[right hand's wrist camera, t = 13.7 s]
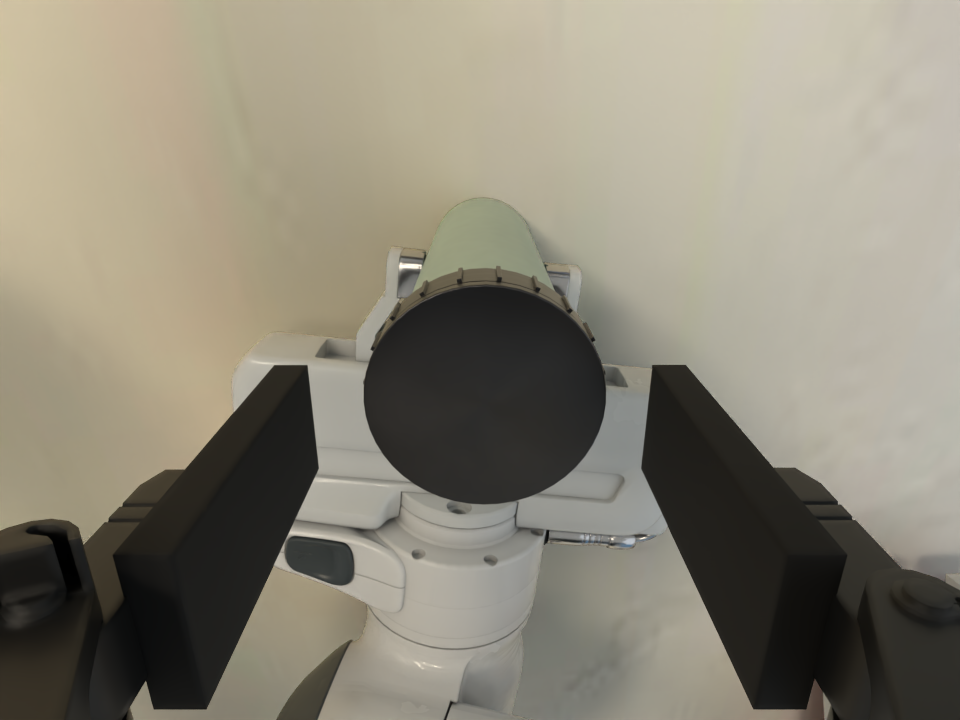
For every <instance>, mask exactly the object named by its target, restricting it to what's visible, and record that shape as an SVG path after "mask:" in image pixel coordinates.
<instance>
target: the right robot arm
mask: <svg viewBox="0 0 960 720" xmlns="http://www.w3.org/2000/svg"><path fill="white" fill-rule="evenodd" d="M318 470H319V464H318V455H317V446H316V437H315V428H314V419H313V410H312V401H311V392H310V383H309V374H308V365H274V366H273V367H272V368H271V370H270V371H269V372H268V373H267V374H266V375H265V377H264V378H263V379H262V380H261V381H260V382H259V384H258V385H257V386H256V387H255V388H254V389H253V391H252V392H251V393H250V394H249V395H248V397H247V398H246V399H245V400H244V401H243V402H242V404H241V405H240V406H239V407H238V408H237V409H236V411H235V412H234V413H233V414H232V415H231V416H230V418H229V419H228V420H227V421H226V422H225V423H224V425H223V426H222V427H221V428H220V429H219V430H218V432H217V433H216V434H215V435H214V436H213V438H212V439H211V440H210V441H209V442H208V443H207V445H206V446H205V447H204V448H203V449H202V450H201V452H200V453H199V454H198V455H197V456H196V457H195V459H194V460H193V461H192V462H191V463H190V464H189V466H188V467H187V468H186V469H185V470H164V471H163V472H161V473H159V474H158V475H156V476H155V477H153V478H151V479H150V480H148V481H146V482H145V483H143V484H141V485H140V486H139V487H138V488H137V489H136V490H135V491H134V492H133V493H132V494H131V495H130V496H129V497H128V498H127V500H126V501H125V502H124V503H123V507H119V508H118V509H117V510H116V511H115V512H114V513H113V514H112V515H111V517H110V518H109V521H108V522H105V523H104V524H103V525H102V526H101V527H100V528H99V529H98V530H97V531H96V532H95V533H94V535H93V536H92V537H91V538H90V539H89V540H88V541H87V542H86V543H85V544H84V545H83V542H82V539H81V535H80V532H79V528H78V527H77V526H75V525H74V524H72V523H71V522H69V521H64V520H56V519H47V520H38V521H30V522H26V523H23V524H19V525H16V526H12V527H9V528H6V529H4V530H1V531H0V720H133V716H132V713H131V709H130V706H131V704H132V702H133V701H134V699H135V697H136V696H137V694H138V692H139V691H140V689H141V687H142V686H143V684H144V682H145V681H146V682H147V686H148V690H149V693H150V697H151V701H152V704H153V708H154V709H207V707H208V705H209V703H210V701H211V698H212V696H213V694H214V692H215V690H216V688H217V686H218V683H219V681H220V679H221V677H222V675H223V673H224V671H225V669H226V666H227V664H228V662H229V660H230V658H231V656H232V654H233V651H234V649H235V647H236V645H237V643H238V641H239V639H240V636H241V634H242V632H243V630H244V628H245V626H246V624H247V621H248V619H249V617H250V615H251V613H252V611H253V609H254V606H255V604H256V602H257V600H258V598H259V596H260V594H261V592H262V589H263V587H264V585H265V583H266V581H267V579H268V577H269V574H270V572H271V570H272V568H273V566H274V564H275V562H276V559H277V557H278V555H279V553H280V551H281V549H282V547H283V544H284V542H285V540H286V538H287V536H288V534H289V532H290V529H291V527H292V525H293V523H294V521H295V519H296V517H297V515H298V512H299V510H300V508H301V506H302V504H303V502H304V500H305V497H306V495H307V493H308V491H309V489H310V487H311V485H312V482H313V480H314V478H315V476H316V474H317V472H318ZM641 470H642V472H643V474H644V476H645V478H646V480H647V482H648V485H649V487H650V489H651V491H652V493H653V495H654V497H655V500H656V502H657V504H658V506H659V508H660V510H661V512H662V515H663V517H664V519H665V521H666V523H667V525H668V527H669V529H670V532H671V534H672V536H673V538H674V540H675V542H676V544H677V547H678V549H679V551H680V553H681V555H682V557H683V559H684V562H685V564H686V566H687V568H688V570H689V572H690V574H691V577H692V579H693V581H694V583H695V585H696V587H697V589H698V592H699V594H700V596H701V598H702V600H703V602H704V604H705V606H706V609H707V611H708V613H709V615H710V617H711V619H712V621H713V624H714V626H715V628H716V630H717V632H718V634H719V636H720V639H721V641H722V643H723V645H724V647H725V649H726V651H727V654H728V656H729V658H730V660H731V662H732V664H733V666H734V669H735V671H736V673H737V675H738V677H739V679H740V681H741V683H742V686H743V688H744V690H745V692H746V694H747V696H748V698H749V701H750V703H751V705H752V707H753V709H806V708H807V704H808V701H809V697H810V693H811V690H812V686H813V682H814V678H815V679H816V681H817V683H818V684H819V686H820V688H821V689H822V691H823V693H824V694H825V696H826V698H827V699H828V701H829V703H830V704H831V706H830V709H829V713H828V716H827V720H960V590H959V589H957V588H955V587H953V586H951V585H949V584H947V583H945V582H943V581H941V580H939V579H937V578H935V577H932V576H929V575H926V574H923V573H919V572H916V571H912V570H905V569H901V568H900V567H899V565H898V564H897V563H896V562H895V561H894V560H893V559H892V558H891V557H890V556H889V555H888V554H887V553H886V552H885V551H884V550H883V549H882V548H881V546H880V545H879V544H878V543H877V542H876V541H875V540H874V539H873V538H872V537H871V536H870V535H869V534H868V533H867V532H866V531H865V530H864V529H863V527H862V526H861V525H860V524H859V523H858V522H857V521H856V520H852V516H851V515H850V514H849V513H848V512H847V511H846V510H845V509H844V507H843V506H842V505H838V501H837V500H836V499H835V498H834V497H833V496H832V495H831V494H830V493H829V492H828V491H827V490H826V488H825V487H824V486H823V485H822V484H821V483H819V482H818V481H816V480H814V479H813V478H811V477H809V476H808V475H806V474H804V473H803V472H801V471H799V470H798V469H796V468H773V467H772V466H771V464H770V463H769V462H768V461H767V460H766V459H765V457H764V456H763V455H762V454H761V453H760V452H759V450H758V449H757V448H756V447H755V446H754V445H753V443H752V442H751V441H750V440H749V439H748V438H747V436H746V435H745V434H744V433H743V432H742V430H741V429H740V428H739V427H738V426H737V425H736V423H735V422H734V421H733V420H732V419H731V418H730V416H729V415H728V414H727V413H726V412H725V411H724V409H723V408H722V407H721V406H720V405H719V404H718V402H717V401H716V400H715V399H714V398H713V397H712V395H711V394H710V393H709V392H708V391H707V389H706V388H705V387H704V386H703V385H702V384H701V382H700V381H699V380H698V379H697V378H696V377H695V375H694V374H693V373H692V372H691V371H690V370H689V368H688V367H687V366H686V365H652V374H651V383H650V392H649V401H648V410H647V419H646V428H645V437H644V446H643V455H642V464H641Z"/></svg>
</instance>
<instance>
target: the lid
mask: <svg viewBox="0 0 960 720" xmlns="http://www.w3.org/2000/svg"><path fill="white" fill-rule="evenodd" d="M594 341H595V339H594V337H593V335H592V333H591V331H590V329H589V327H588V325H587V323H584V324H583V323H582V321H581V320H580V318H579V316H578V315H577V313H576V312H575V311H574V310H573V308H572V307H571V305H570V303H569V301H568V299H567V297H566V296H565V295H563V296H562V297H561V296H560V295H559V294H558V293H557V292H555V291H554V290H552V289H551V288H549V287H548V286H546V285H545V284H543V283H541V282H539V281H538V279H537V277H536V276H534V275H533V276H532V278H531V277H529V276H526V275H523V274H520V273H517V272H513V271H508V270H503V269H501V266H496V269H493V268H477V269H467V270H463V268H458V271H456V272H453V273H450V274H447V275H444V276H441V277H438V278H436V279H434V280H432V281H430V282H428V281H427V280H426V281H424V282H423V284H422V287H420V288H419V289H417V290H416V291H414V292H413V293H412V294H411V295H410V296H408V297H407V298H406V299H405V300H404V301H403V302H402V303H401V304H400V303H399V302H398V303H397V304H396V305H395V307H394V309H393V312H392V314H391V316H390V318H389V320H388V322H387V323H386V325H385V327H384V329H383V332H380V331H379V332H378V334H377V336H376V338H375V340H374V342H373V344H372V347H371V349H370V350H372V351H373V353H372V355H371V357H370V360H369V364H368V367H367V370H366V374H365V378H364V380H363V385H364V408H365V415H366V419H367V422H368V426H369V429H370V431H371V434H372V436H373V438H374V440H375V442H376V444H377V446H378V447H379V449H380V451H381V452H382V454H383V455H384V456H385V458H386V459H387V460H388V461H389V463H390V464H391V465H392V466H393V467H394V468H395V469H396V470H397V471H398V472H399V473H400V474H401V475H402V476H404V477H405V478H406V479H408V480H409V481H411V482H412V483H413V484H415V485H417V486H418V487H420V488H422V489H424V490H425V491H427V492H430V493H432V494H434V495H437V496H439V497H442V498H445V499H449V500H452V501H456V502H462V503H468V504H482V505H487V504H501V503H507V502H513V501H517V500H521V499H524V498H528V497H530V496H533V495H535V494H538V493H540V492H542V491H544V490H546V489H548V488H549V487H551V486H553V485H555V484H556V483H557V482H559V481H560V480H562V479H563V478H564V477H566V476H567V475H568V474H569V473H570V472H571V471H572V470H573V469H575V468H576V467H577V465H578V464H579V463H580V462H581V461H582V460H583V458H584V457H585V456H586V454H587V453H588V451H589V450H590V448H591V447H592V445H593V443H594V441H595V439H596V437H597V435H598V433H599V431H600V428H601V424H602V421H603V418H604V412H605V406H606V382H605V375H606V373H605V369H604V367H603V365H602V363H601V360H600V358H599V356H598V353H597V351H596V349H595V347H594V345H593V342H594Z"/></svg>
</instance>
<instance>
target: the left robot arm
mask: <svg viewBox="0 0 960 720" xmlns="http://www.w3.org/2000/svg"><path fill="white" fill-rule="evenodd" d="M426 253H427V251H426V250H420V249H411V248H403V247H391V249H390V250H389V252H388V257H387V265H386V286H385V291H384V292H383V293H382V295H381V296H380V298H379V299H378V301H377V302H376V304H375V305H374V307H373V308H372V310H371V311H370V313H369V314H368V316H367V317H366V318H365V320H364V322H363V324H362V325H361V327H360V329H359V330H358V332H357V334H356V339H347V338H337V337H327V336H316V335H306V334H296V333H286V332H271V333H269V334H267V335H266V336H264V337H263V338H262V339H261V340H260V341H259V342H257V343H256V344H255V345H254V346H253V347H251V348H250V349H249V350H248V351H247V353H246V354H245V355H244V356H243V357H242V359H241V360H240V361H239V362H238V364H237V365H236V367H235V370H234V372H233V375H232V406H233V413H234V412H235V411H236V409H237V408H238V407H239V406H240V405H241V404H242V402H243V401H244V400H245V399H246V398H247V397H248V395H249V394H250V393H251V392H252V391H253V389H254V388H255V387H256V386H257V385H258V384H259V382H260V381H261V380H262V379H263V378H264V377H265V375H266V374H267V373H268V372H269V371H270V370H271V368H272V367H273V366H274V365H308V374H309V383H310V392H311V401H312V410H313V419H314V428H315V437H316V446H317V455H318V464H319V470H318V472H317V474H316V476H315V478H314V480H313V482H312V485H311V487H310V489H309V491H308V493H307V495H306V497H305V500H304V502H303V504H302V506H301V508H300V510H299V512H298V515H297V517H296V519H295V521H294V523H293V525H292V527H291V529H290V532H289V534H288V536H287V538H286V540H285V542H284V544H283V547H282V549H281V551H280V553H279V555H278V557H277V559H276V562H275V564H274V567H276V568H279V569H281V570H284V571H287V572H290V573H293V574H296V575H299V576H302V577H305V578H308V579H310V580H313V581H316V582H319V583H321V584H324V585H327V586H329V587H331V588H334V589H336V590H339V591H341V592H343V593H346V594H348V595H350V596H352V597H354V598H356V599H358V600H360V601H362V602H364V603H366V605H367V620H366V624H365V627H364V631H363V634H362V636H361V637H360V638H359V639H358V640H357V641H353V640H350V641H348V642H346V643H345V644H343V645H342V646H340V647H339V648H338V649H336V650H335V651H334V652H333V653H332V654H330V655H329V656H328V657H327V658H326V659H325V660H324V661H323V662H322V663H321V664H320V665H319V666H317V667H316V668H315V669H314V670H313V671H312V672H311V673H310V674H309V675H308V676H307V677H306V678H305V679H304V680H303V681H302V682H301V684H300V685H299V686H298V687H297V688H296V690H295V691H294V692H293V694H292V695H291V696H290V698H289V699H288V701H287V702H286V704H285V706H284V707H283V709H282V711H281V712H280V714H279V716H278V718H277V720H532V719H528V718H524V717H520V716H516V715H512V712H513V708H514V704H515V700H516V696H517V691H518V687H519V682H520V677H521V672H522V666H523V657H524V651H523V640H522V635H521V631H522V629H523V628H524V626H525V625H526V623H527V621H528V618H529V616H530V614H531V611H532V607H533V603H534V597H535V592H536V586H537V580H538V574H539V569H540V563H541V558H542V551H543V545H545V543H551V544H561V545H573V546H586V545H595V546H598V545H599V546H606V547H607V548H610V549H619V550H623V549H632V548H634V546H635V543H638V542H644V541H647V540H650V539H652V538H654V537H656V536H657V535H661V534H663V533H664V531H665V530H666V529H667V527H668V525H667V523H666V521H665V519H664V517H663V515H662V512H661V510H660V508H659V506H658V504H657V502H656V500H655V497H654V495H653V493H652V491H651V489H650V487H649V485H648V482H647V480H646V478H645V476H644V474H643V472H642V470H641V464H642V455H643V446H644V437H645V428H646V419H647V410H648V401H649V392H650V383H651V374H652V368H642V367H632V366H622V365H612V364H602V365H603V367H604V369H605V373H606V375H605V382H606V406H605V412H604V418H603V421H602V424H601V428H600V431H599V433H598V435H597V437H596V439H595V441H594V443H593V445H592V447H591V448H590V450H589V451H588V453H587V454H586V456H585V457H584V458H583V460H582V461H581V462H580V463H579V464H578V465H577V467H576V468H575V469H573V470H572V471H571V472H570V473H569V474H568V475H567V476H566V477H564V478H563V479H562V480H560V481H559V482H557V483H556V484H555V485H553V486H551V487H549V488H548V489H546V490H544V491H542V492H540V493H538V494H535V495H533V496H530V497H528V498H524V499H521V500H517V501H513V502H507V503H501V504H487V505H482V504H468V503H462V502H456V501H452V500H449V499H445V498H442V497H439V496H437V495H434V494H432V493H430V492H427V491H425V490H424V489H422V488H420V487H418V486H417V485H415V484H413V483H412V482H411V481H409V480H408V479H406V478H405V477H404V476H402V475H401V474H400V473H399V472H398V471H397V470H396V469H395V468H394V467H393V466H392V465H391V464H390V463H389V461H388V460H387V459H386V458H385V456H384V455H383V454H382V452H381V451H380V449H379V447H378V446H377V444H376V442H375V440H374V438H373V436H372V434H371V431H370V429H369V426H368V422H367V419H366V415H365V408H364V385H363V380H364V378H365V374H366V370H367V367H368V364H369V360H370V357H371V355H372V353H373V351H372V350H370V349H371V347H372V344H373V342H374V340H375V338H376V336H377V334H378V332H379V331H380V332H383V329H384V327H385V325H386V323H387V322H388V321H386V319H387V318H388V316H389V315H390V313H391V312H392V311H393V309H394V307H395V305H396V304H397V303H398V302H399V300H400V299H401V298H407V297H408V296H410V295H411V294H412V292H413V290H414V287H415V285H416V282H417V280H418V277H419V274H420V272H421V269H422V267H423V264H424V262H425V259H426ZM544 267H545V269H546V271H547V274H548V276H549V279H550V281H551V283H552V286H553V288H554V290H555V292H557V293H558V294H559V295H560V296H561V297H562V296H563V295H565V296H566V297H567V299H568V301H569V303H570V305H571V307H572V308H573V310H574V311H575V312H576V313H577V307H578V301H579V295H580V289H581V283H582V271H581V270H580V268H579V267H578V266H577V265H567V264H557V263H545V262H544ZM577 315H578V313H577ZM578 316H579V315H578ZM579 318H580V317H579ZM385 321H386V322H385Z"/></svg>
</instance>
